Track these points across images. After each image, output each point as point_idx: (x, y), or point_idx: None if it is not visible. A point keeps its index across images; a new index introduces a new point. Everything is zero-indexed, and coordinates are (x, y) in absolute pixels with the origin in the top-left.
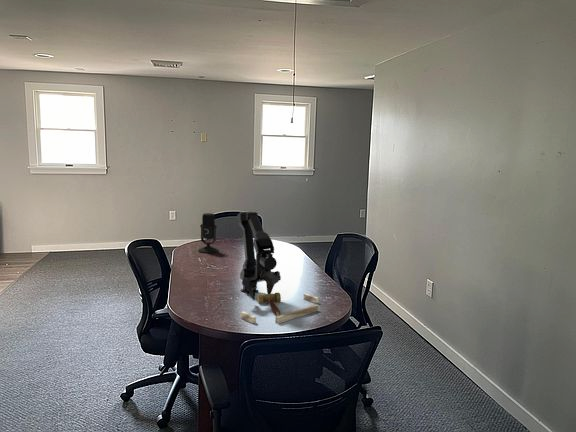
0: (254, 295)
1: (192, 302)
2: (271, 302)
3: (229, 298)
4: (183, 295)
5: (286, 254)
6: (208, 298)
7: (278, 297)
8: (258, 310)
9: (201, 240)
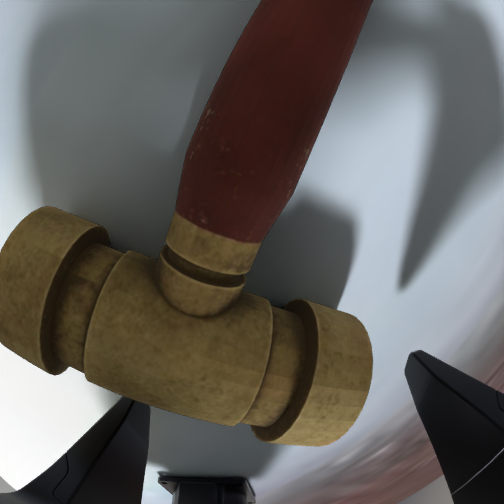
0: (458, 383)
1: None
2: (324, 63)
3: (391, 448)
4: None
5: None
6: None
7: (44, 236)
8: (466, 132)
9: None
